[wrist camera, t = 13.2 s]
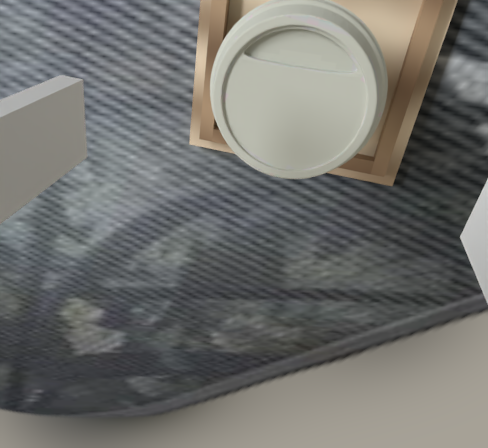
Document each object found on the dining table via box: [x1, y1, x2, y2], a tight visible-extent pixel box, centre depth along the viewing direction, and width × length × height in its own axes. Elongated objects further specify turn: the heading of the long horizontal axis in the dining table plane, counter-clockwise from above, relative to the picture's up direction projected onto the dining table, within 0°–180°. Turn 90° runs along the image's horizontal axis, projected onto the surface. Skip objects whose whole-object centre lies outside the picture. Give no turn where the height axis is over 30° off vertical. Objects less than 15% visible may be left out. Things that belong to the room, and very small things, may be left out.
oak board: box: [190, 0, 458, 186], centre depth 30 cm, size 16×16×2 cm
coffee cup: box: [210, 0, 388, 179], centre depth 25 cm, size 8×8×12 cm
